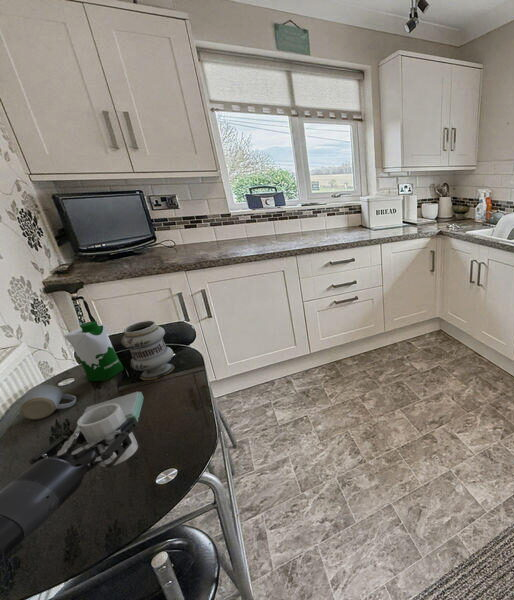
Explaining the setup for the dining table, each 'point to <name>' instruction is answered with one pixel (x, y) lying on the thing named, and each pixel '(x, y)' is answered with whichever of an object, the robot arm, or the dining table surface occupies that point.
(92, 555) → the dining table surface
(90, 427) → the white cup
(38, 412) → the ceramic mug
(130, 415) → the kitchen scale
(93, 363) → the milk carton
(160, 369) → the apothecary jar
